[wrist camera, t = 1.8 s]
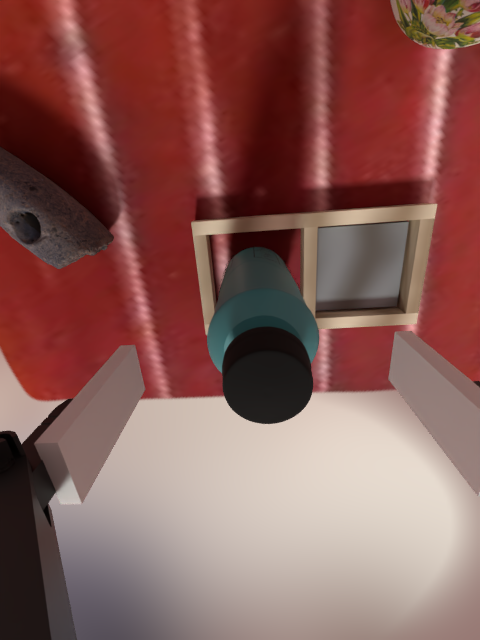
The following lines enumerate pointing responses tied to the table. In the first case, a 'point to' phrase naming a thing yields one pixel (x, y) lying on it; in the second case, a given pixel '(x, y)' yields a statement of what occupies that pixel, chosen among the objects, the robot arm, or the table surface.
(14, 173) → the perforated stone tool
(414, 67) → the table surface
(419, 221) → the bottle rack
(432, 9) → the pitcher
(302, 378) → the beverage bottle
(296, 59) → the table surface
